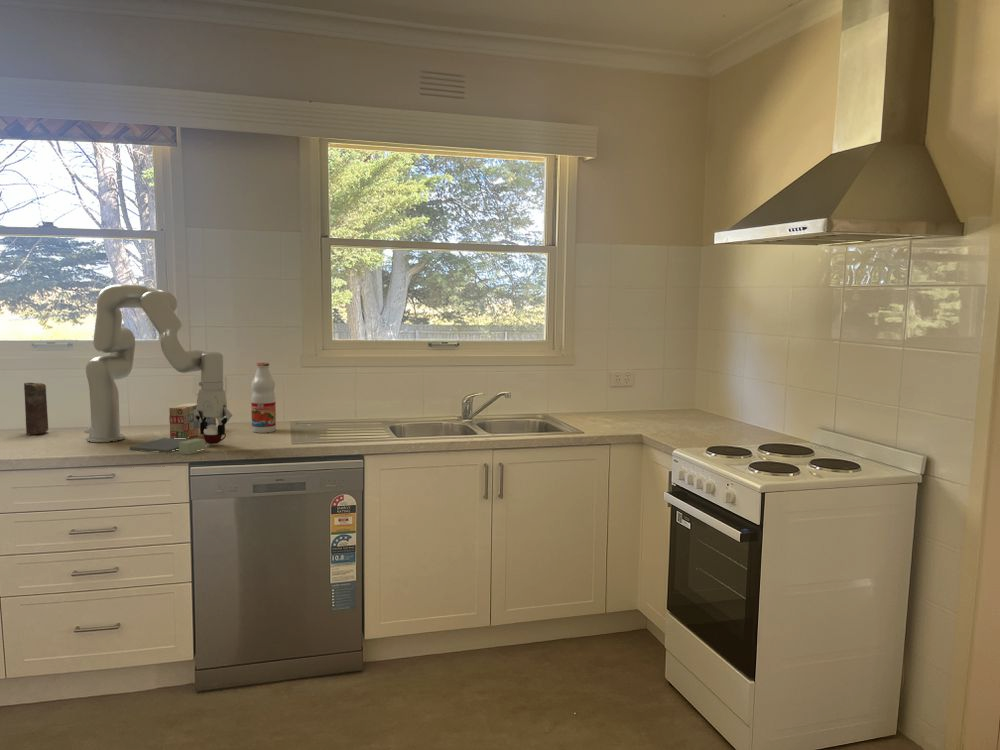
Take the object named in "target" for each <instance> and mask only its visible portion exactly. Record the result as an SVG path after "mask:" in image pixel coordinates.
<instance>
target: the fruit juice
mask: <svg viewBox="0 0 1000 750" xmlns="http://www.w3.org/2000/svg"><path fill="white" fill-rule="evenodd" d="M255 365H256V371H255V375H254V377H253V379H252V380H251V383H250V384H251V385H250V386H251V390H252V394H251V395H250V396H251V400H250V401H251V402H250V404H251V406H250V407H251V431H252V432H253V433H256V432H257V433H258V434H268V433H267V432H269V433H272V432H273V433H274V432H275V431H276V429H277V421H276V420H277V418H276V417H277V413H276V412H277V411H276V403H277V401H276V394H275V388H276V384H275V380H274V379H273V376H272V374H271V372H270V369H269V367H270V363H269V362H257V363H256V364H255Z"/></svg>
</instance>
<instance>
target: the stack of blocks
mask: <svg viewBox="0 0 1000 750" xmlns="http://www.w3.org/2000/svg"><path fill="white" fill-rule="evenodd" d="M196 408H197V402H196V403H195V402H191V403H190V402H187V403H182V404H178V405H175V406H170V407H169V408H168V409H169V438H187V439H189V438H188V437H191V436H194V437H196V436H195V435H197V436H199V435H198V428H200V423H199V422H198V420H197V418H196V416H195V415H194V414H193V411H194V410H195V409H196ZM206 422H207V426H208V425H215V426H217V418H207V420H206ZM191 438H192V437H191Z"/></svg>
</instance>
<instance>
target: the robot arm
mask: <svg viewBox="0 0 1000 750" xmlns="http://www.w3.org/2000/svg"><path fill="white" fill-rule="evenodd" d="M123 308H124V309H125V308H129V309H131V308H134V309H135V308H136V309H137V308H139V309H142V310H143V312H144V313H145V315H146V316H147V318H148V319H149V321H150V323H152V325H153V327H154V328H155V330H156V331H157V332H158V334H159V337H160V339H159V342H160V346H161V347H160V348H161V351H162V353H163V355H164V357H165V358H166V360H167V362H168V363H169V364H170V366H171V367H172V368H173V369H174V370H176V371H177V372H179V373H181V374H182V373H185V374H186V373H191V372H199V371H200V382H198V386H199V387H200V389H198V393H197V398H196V403H197V408H196V409H195V410H194V411H193V414H194V415H195V416H196V418H197V420H198V422H199V423H200V434H204V432H203V431H204V429H205V427H204V425H203V422H202V420H201V417H200V415H199V412H198V411H200V413H201V416H202V418H203V421H204V423H205V426H206V427H207V422H206V420H207V418H216V421H217V422H218V425H217V427H218V436H221V435H222V436H225V434H226V433H225V432H226V425H227V422H228V421H229V420H230V419H231V418H232V417H233V414H232V413H231V411H230V410H229V409H228V404H227V401H228V400H227V394H226V390H225V389H224V355H223V353H221V352H216V351H215V352H214V351H204V350H185V349H184V347H183V346H182V344H181V343H180V341H179V338H178V331H180V330H181V328H182V327H183V326H182V325H183V324H182V321H181V320H180V318H179V317H178V316H177V315H176V313H175V311H176V309H178V300H177V298H176V297H175V295H174V294H173V293H172V292H169V291H166V290H162V289H157V288H154V287H150V286H145V285H142V284H141V285H139V284H112V285H109V286H105V288H103V289H101V290H100V292H99V293H98V295H97V298H96V315H95V317H96V318H95V322H94V324H95V325H94V331H93V347H94V349H95V350H96V351H97V352H99V353H103V354H104V353H105V354H109V355H99V356H96V357H93V358H91V359H90V360H89V361H88V362H87V364H86V366H85V374H86V378H87V382H88V383H87V384H88V389H89V404H90V405H89V406H90V407H89V408H90V424H91V425H90V426H91V427H87V428H86V429H84V430H83V431H84V432H83V433H84V434H89V435H88V436H87V437H86V441H87V442H89V441H90V442H91V443H110V441H113V442H118V440H119V441H122V440H124V439H125V438H126V435H125V434H123V433H121V422H120V396H119V395H120V394H119V390H118V389H119V388H118V386H117V384H116V382H115V381H116V380H117V381H118V380H122V379H125V378H127V377H128V376H130V375H131V373H132V369H133V364H134V356H135V348H136V338H135V334H134V333H133V331H132V330H131V329H130V328H128V327H125V326H122V322H123V315H122V311H121V309H123Z"/></svg>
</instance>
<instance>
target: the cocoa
mask: <svg viewBox="0 0 1000 750" xmlns="http://www.w3.org/2000/svg"><path fill="white" fill-rule="evenodd" d="M198 412H199V415H200V417H201V420H202V422H203V425H204V427H205V429H204V431H203V432H204V439H205V441H206V442H205V444H206V443H207V444H208V445H216V444H218V443H220V442H221V441H223V440H224V439H225V438H226V436H227V435H226V433H225V434H224V435H221V436H218V425H216V426H215V425H208V426H207V427H206V426H205V423H204V421H203V418H202V416H201V413H200V411H198ZM223 436H224V437H223Z"/></svg>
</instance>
